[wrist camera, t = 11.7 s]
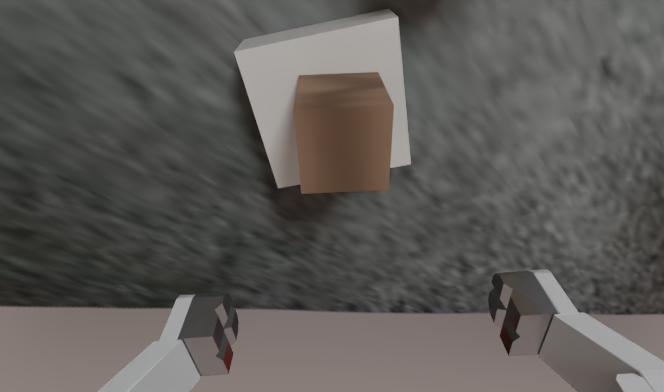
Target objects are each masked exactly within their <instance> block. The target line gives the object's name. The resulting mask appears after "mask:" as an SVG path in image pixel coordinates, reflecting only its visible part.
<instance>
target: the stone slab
mask: <svg viewBox="0 0 664 392" xmlns="http://www.w3.org/2000/svg"><path fill="white" fill-rule="evenodd" d="M234 54H235V57H236V60H237V63H238V66H239V69H240V72H241V75H242V78H243V82H244V85H245V88H246V91H247V94H248V97H249V100H250V103H251V106H252V109H253V112H254V116H255V119H256V122H257V125H258V128H259V131H260V134H261V137H262V140H263V143H264V147H265V150H266V153H267V156H268V159H269V162H270V165H271V168H272V171H273V174H274V177H275V181H276V184H277V187H278V188H283V187H289V186H294V185H300V175H299V164H298V153H297V142H296V131H295V121H294V103H295V97H296V90H297V84H298V77H299V75H317V74H342V73H366V72H378V73H379V75H380V77H381V79H382V81H383V83H384V86H385V88H386V90H387V92H388V94H389V96H390V98H391V100H392V102H393V105H394V114H393V130H392V146H391V162H390V168H393V167H398V166H404V165H409V164H411V159H410V148H409V136H408V125H407V113H406V102H405V90H404V78H403V67H402V55H401V44H400V32H399V21H398V16H397V15H395V14H394V13H393V12H392V11H391V10H390V9H384V10H380V11H375V12H370V13H366V14H361V15H356V16H352V17H347V18H343V19H338V20H333V21H329V22H324V23H319V24H315V25H310V26H305V27H301V28H296V29H292V30H287V31H282V32H278V33H273V34H268V35H264V36H259V37H254V38H250V39H245V40H243V41H242V42H241V44H240V45H239V46H238V47H237V49H236V50H235V51H234Z"/></svg>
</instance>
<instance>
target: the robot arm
mask: <svg viewBox="0 0 664 392" xmlns="http://www.w3.org/2000/svg"><path fill="white" fill-rule="evenodd" d="M492 284H493V286H494V289H493V290H492V291H490V292H489V298H488V303H489V311H490V314H491V317H492V319H493V322H494V323H495V324H496V325H497V326H499V327H500V328H501V333H500V338H501V340H502V342H503V344H504V347H505V349H506V351H507V353H508V355H509V356H520V355H539V357H540V358H541V359H542V360H543V361H544V362H545V363H546V364H548V365H549V366H550V367H551V368H552V369H553V370H554V371H555V372H557V373H558V374H559V375H560V376H561V377H562V378H563V379H564V380H565V381H567V382H568V383H569V384H570V385H571V386H572V387H573V388H574V389H575V390H577V391H578V392H664V361H663V360H661V359H659V358H658V357H656V356H654V355H653V354H651V353H649V352H648V351H646V350H644V349H643V348H641V347H640V346H638V345H636V344H635V343H633V342H632V341H630V340H628V339H627V338H625V337H623V336H622V335H620V334H618V333H617V332H615V331H613V330H612V329H610V328H609V327H607V326H605V325H604V324H602V323H600V322H599V321H597V320H595V319H594V318H592V317H590V316H589V315H587V314H586V313H579V312H578V311H577V309H576V308H575V307H574V305H573V304H572V302H571V301H570V299H569V298H568V296H567V295H566V294H565V292H564V291H563V289H562V288H561V286H560V285H559V284H558V282H557V281H556V279H555V278H554V276H553V275H552V273H551V272H550V271H548V270H547V269H544V270H531V271H517V272H505V273H495V275H494V276H493V279H492ZM231 303H232V299H231V296H230V294H229V293H211V294H194V295H180V296H179V297H178V298H177V299H176V301H175V303H174V306H173V308H172V311H171V313H170V315H169V318H168V320H167V322H166V325H165V327H164V330H163V332H162V334H161V337H160V339H159V341H154V342H153V343H151V344H150V345H149V346H148V347H147V348H146V349H145V350H144V351H142V352H141V353H140V354H139V355H138V356H137V357H136V358H135V359H134V360H132V361H131V362H130V363H129V364H128V365H127V366H126V367H124V368H123V369H122V370H121V371H120V372H119V373H118V374H117V375H115V376H114V377H113V378H112V379H111V380H110V381H109V382H108V383H106V384H105V385H104V386H103V387H102V388H101V389H100V390H99V391H97V392H190V391H191V390H192V389H193V387H194V386H195V385H196V383H197V382H198V381H199V380H200V379H201V377H200V376H208V375H219V374H228V373H229V369H230V365H231V361H232V357H233V351H232V349H231V345H232V344H233V343H234V342H235V341H236V339H237V334H238V317H237V313H236V310H235V309H233V308H232V307H231Z"/></svg>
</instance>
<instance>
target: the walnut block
mask: <svg viewBox="0 0 664 392" xmlns="http://www.w3.org/2000/svg"><path fill="white" fill-rule="evenodd" d="M393 114H394V105H393V102H392V100H391V98H390V96H389V94H388V92H387V90H386V88H385V86H384V83H383V81H382V79H381V77H380V75H379V73H378V72H366V73H342V74H317V75H299V77H298V84H297V90H296V97H295V103H294V121H295V131H296V142H297V153H298V164H299V175H300V186H301V194H310V193H333V192H356V191H380V190H389V179H390V162H391V146H392V130H393Z"/></svg>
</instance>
